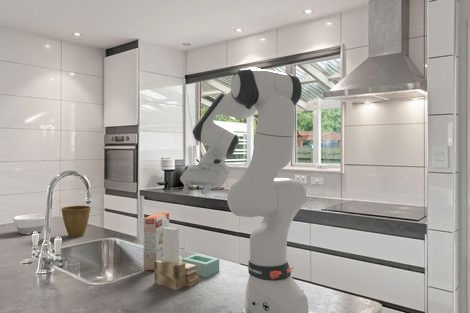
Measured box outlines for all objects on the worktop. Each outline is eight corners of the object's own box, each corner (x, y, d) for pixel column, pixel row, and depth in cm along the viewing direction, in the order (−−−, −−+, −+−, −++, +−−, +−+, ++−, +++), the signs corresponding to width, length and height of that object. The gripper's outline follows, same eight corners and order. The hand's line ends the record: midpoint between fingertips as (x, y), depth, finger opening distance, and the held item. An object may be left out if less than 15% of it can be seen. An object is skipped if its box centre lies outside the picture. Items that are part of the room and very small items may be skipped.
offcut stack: (199, 282, 133) (199, 265, 133) (189, 286, 129) (189, 269, 129) (171, 274, 141) (171, 259, 141) (162, 278, 137) (161, 262, 137)
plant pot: (66, 240, 195) (65, 210, 195) (58, 235, 207) (58, 207, 206) (94, 236, 205) (94, 207, 204) (86, 231, 216) (85, 204, 216)
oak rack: (185, 285, 130) (185, 263, 129) (176, 290, 126) (176, 266, 126) (163, 279, 136) (163, 258, 136) (154, 283, 132) (154, 261, 132)
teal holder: (219, 271, 144) (219, 258, 144) (206, 277, 138) (205, 264, 138) (196, 266, 151) (196, 253, 151) (182, 271, 145) (182, 258, 145)
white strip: (179, 284, 131) (178, 228, 130) (175, 286, 129) (174, 229, 129) (167, 281, 134) (166, 226, 134) (163, 283, 133) (162, 227, 132)
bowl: (46, 227, 228) (45, 212, 228) (50, 233, 214) (50, 216, 213) (12, 231, 218) (12, 215, 218) (14, 237, 204) (14, 220, 203)
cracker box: (157, 271, 145) (156, 218, 145) (143, 270, 147) (142, 218, 146) (170, 260, 159) (169, 212, 159) (157, 259, 160) (156, 211, 160)
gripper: (187, 160, 153) (170, 185, 145) (226, 160, 141) (210, 189, 133) (194, 170, 157) (178, 195, 149) (233, 171, 145) (218, 199, 137)
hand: (193, 192), depth 141 cm, fingers open, 8 cm apart
